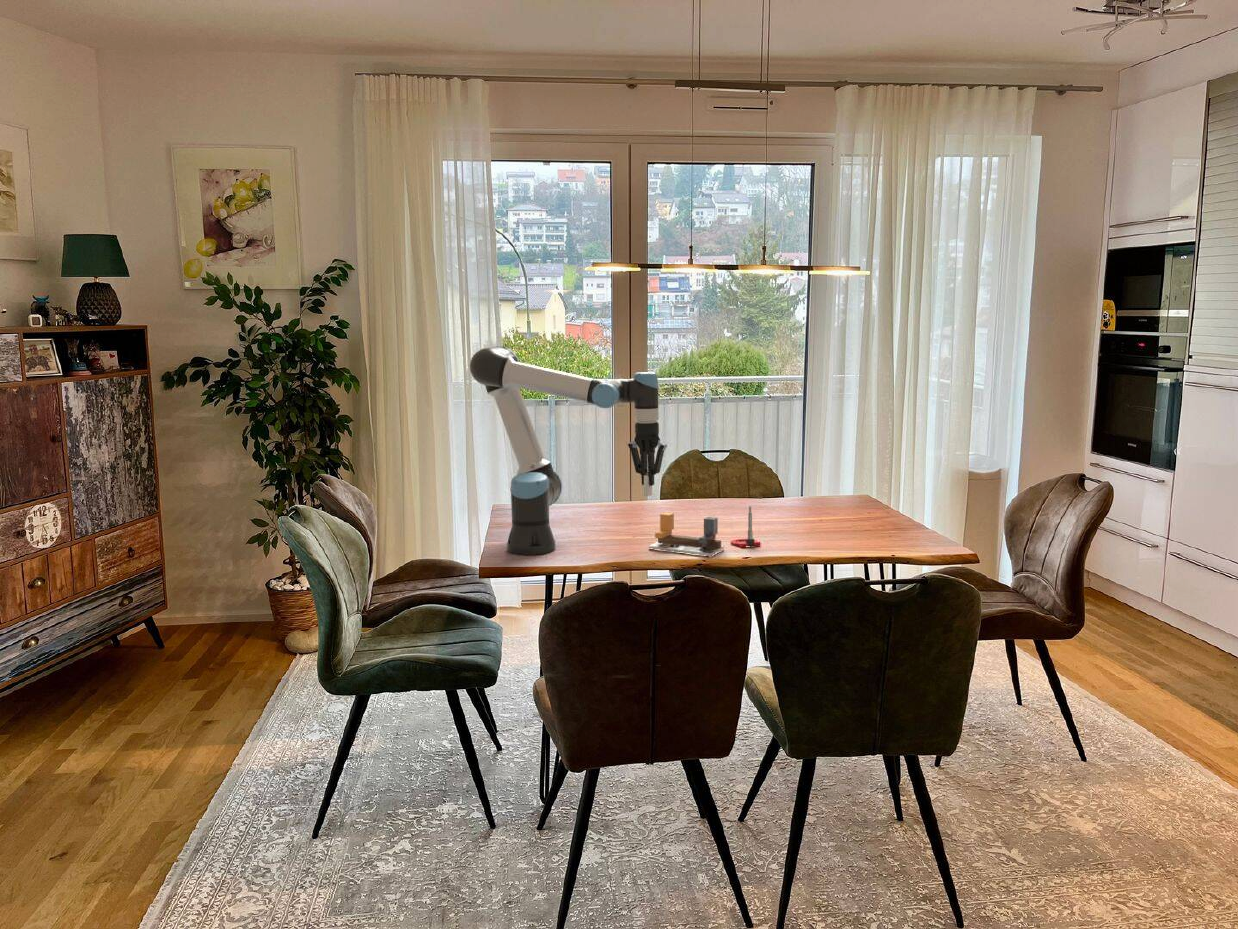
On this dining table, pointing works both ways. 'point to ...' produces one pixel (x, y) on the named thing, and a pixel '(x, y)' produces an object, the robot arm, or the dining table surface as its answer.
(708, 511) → the dining table surface
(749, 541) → the tow hook
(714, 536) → the fixed leg
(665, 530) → the orange toy chair
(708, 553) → the bolt plate
